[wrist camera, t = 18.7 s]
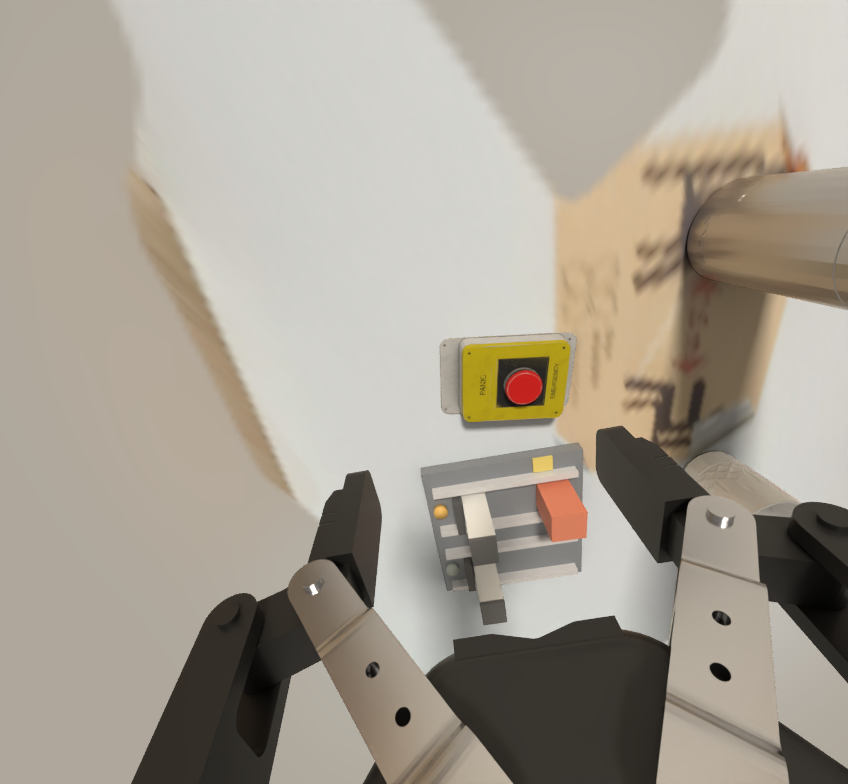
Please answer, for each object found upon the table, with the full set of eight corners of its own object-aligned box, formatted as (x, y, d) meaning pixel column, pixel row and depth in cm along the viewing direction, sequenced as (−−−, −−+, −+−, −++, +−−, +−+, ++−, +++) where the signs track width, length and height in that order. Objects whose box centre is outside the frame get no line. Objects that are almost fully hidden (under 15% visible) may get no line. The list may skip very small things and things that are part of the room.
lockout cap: (566, 501, 49) (586, 537, 43) (536, 505, 49) (551, 542, 43) (567, 477, 47) (587, 512, 41) (535, 482, 47) (551, 517, 42)
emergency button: (580, 423, 41) (443, 430, 41) (565, 405, 45) (440, 411, 44) (593, 343, 37) (441, 350, 36) (575, 330, 41) (439, 337, 40)
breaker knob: (492, 551, 52) (504, 601, 45) (495, 571, 54) (507, 621, 47) (471, 555, 52) (480, 605, 45) (474, 574, 54) (483, 625, 47)
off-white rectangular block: (484, 491, 47) (496, 537, 41) (487, 515, 49) (499, 562, 42) (461, 495, 47) (469, 541, 41) (465, 518, 49) (473, 566, 42)
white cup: (734, 437, 47) (810, 490, 38) (741, 481, 50) (813, 540, 41) (671, 461, 48) (730, 518, 39) (681, 502, 51) (739, 564, 42)
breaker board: (578, 442, 46) (591, 461, 43) (577, 562, 56) (588, 586, 52) (420, 467, 47) (421, 488, 44) (446, 581, 57) (448, 606, 53)
